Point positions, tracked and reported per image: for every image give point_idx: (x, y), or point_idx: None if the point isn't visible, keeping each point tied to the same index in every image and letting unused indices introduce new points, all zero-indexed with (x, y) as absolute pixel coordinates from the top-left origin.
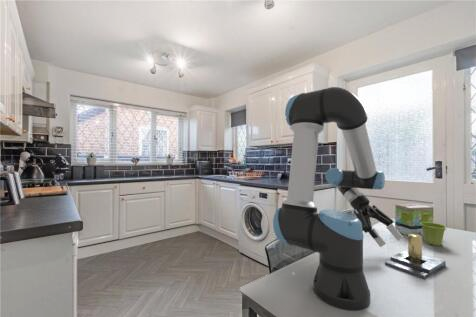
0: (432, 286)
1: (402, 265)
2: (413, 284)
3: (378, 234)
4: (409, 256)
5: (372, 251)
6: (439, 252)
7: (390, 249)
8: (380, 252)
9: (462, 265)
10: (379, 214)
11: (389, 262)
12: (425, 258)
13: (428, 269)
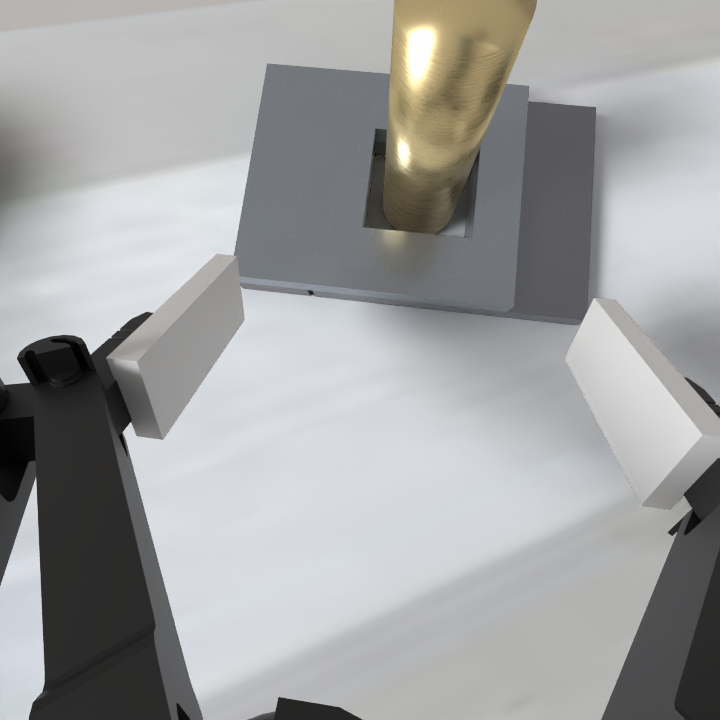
0: (640, 77)
1: (544, 228)
2: (707, 138)
3: (662, 363)
4: (459, 192)
5: (399, 483)
6: (25, 168)
7: (233, 406)
8: (368, 432)
9: (183, 42)
10: (58, 621)
11: (572, 297)
12: (332, 148)
13: (526, 90)
